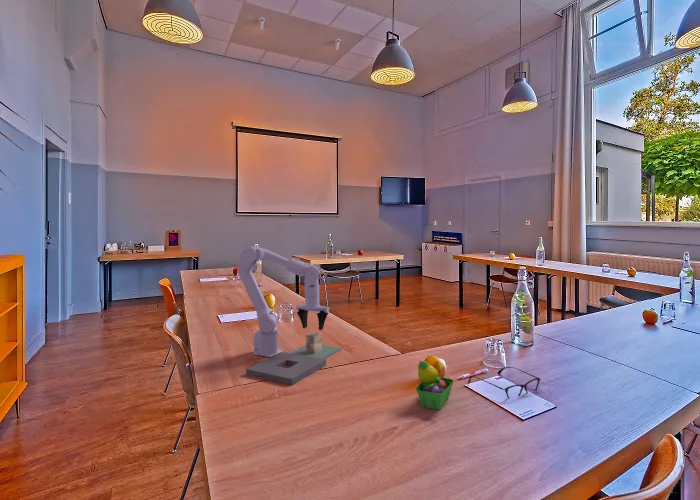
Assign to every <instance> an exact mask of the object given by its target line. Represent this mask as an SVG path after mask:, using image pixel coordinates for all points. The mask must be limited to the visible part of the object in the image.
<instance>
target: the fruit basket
mask: <svg viewBox="0 0 700 500" xmlns="http://www.w3.org/2000/svg"><path fill="white" fill-rule="evenodd" d="M417 370H418V371H417V372H418V373H417V374H418V376H417V377H418V379H419V381H420V383H419V384H418V386H416V387H415V390H416V392H417V395H418V398H419V403H420V405H421V407H426V408H430V409H433V410H437V411H439V410H440V409H441V407H443V405H444V404H446V401H447V400H448V399H449V398H450V395H451V391H452V387H453V384H454V383H455V381H454V379H452V378H447V377H444V376H443V377H442V376H438V375H439V373H438V370H437V369H436V368H435V367H434V366H433V365H431V364H430V363H429V362H427V361H426V360H420V361H419V362H418V365H417Z"/></svg>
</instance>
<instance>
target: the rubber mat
mask: <svg viewBox="0 0 700 500" xmlns="http://www.w3.org/2000/svg"><path fill="white" fill-rule="evenodd" d="M342 350H343V349H342V347H340V346H333V345H332V346H331V345H327V344H326V345H325V344H322V350H321V351H319V352H317V353H315V354H314V353H308V352H306V344H304V345H303V346H301V347H299V348H297V349H294V350H292V351H290V352H289V353H292V354H298V355H304V356H309V357H315V358H321V359H326V360H327V358H329V357H331V356H333V355H334V354H336V353H339V352H340V351H342Z"/></svg>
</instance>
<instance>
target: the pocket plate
mask: <svg viewBox="0 0 700 500" xmlns="http://www.w3.org/2000/svg"><path fill="white" fill-rule="evenodd" d="M287 366H289V367H287ZM326 366H327V358H326V359H321V358H315V357H309V356H304V355H298V354H292V353H290V352H286V351H283V352H281V353H279V354H276V355H274V356H272V357H268V358H267V359H265V360H262V361H260V362H258V363H256V364H253V365H252V366H250V367H248V368H246V369H245V374H246V376H250V377H255V378H258V379H259V378H260V379H263V380H264V379H265V380H270V381H274V382H277V383H282V384H286V385H291V386H293V385H295V384H297V383H299V382H300V381H302V380H303V379H305V378H307V377H309V376H311V375H313V373H315V372H317V371H319V370H320V369H322V368H324V367H326Z"/></svg>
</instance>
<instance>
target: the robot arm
mask: <svg viewBox="0 0 700 500" xmlns="http://www.w3.org/2000/svg"><path fill="white" fill-rule="evenodd" d="M266 260H267V261H269V262H272V263H275V264H277V265H281V266H283V267H285V269H286V271H287V272H289V273H291V274H295V275H297V276H299V277H300V278H301V277H302V278H303V277H304V278H305V284H304V299H305V301H304V302H305V303H304V304H297V305H296V306H295V310H296V311H297V312H296V314H297V315H298V318H299V320H300V322H301V325H302V328H303V329H306V328H307V327H308V316H309V312H317V313H316V316H317V319H318V330H319V331H322V330H323V329H324V326H325V322H326V319H327V317H328V314H329V312H330V307H329V306H325V305H324V306H323V305H321V304H320V283H319V282H320V281H319V278H320V277H319V276H320V273H319V272H320V271H319V269H318V267H317V266H315V265H314V264H311V263H309V262H304V261H302V260H300V258H298V257H292V258H289V259H288V258H286V257H284V256H282V255H280V254H277V253H276V252H273V251H272V250H268V249H266V248H264V247H263V248H262V247H259V246H255V245H251V246H246V247H243V248H242V251H241V252H240V253H239V256H238V265H237V266H238V267H237V273H238V276H239V278H240V280H241V281H242V284H243V286H244V289H245V291H246V293H247V295H248V298H249V299H250V301H251V304H252V305H253V308H254V310H255V311H256V318H257V320H258V329H259V330H257V331H256V332H255V334H254V336H253V352H252V354H253V355H257V356H262V357H267V358H271V357H273V356H275V355H278V354H280V353H282V352H284V350H282V349H279V334H278V333H279V330H278V328H277V326H276V325H277V324H278V320H279V319H278V316H277V315H276V314H275V313H273V312H272V309H271V308H270V307H269V306H268V304H267V302H266V299H265V297H264V294H263V293H262V291H261V288H260V286H259V284H258V282H257V280H256V278H255V276H254V273H253V272H252V271H253V268H254V267H255V264H256V263H257V262H258V261H266Z"/></svg>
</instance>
